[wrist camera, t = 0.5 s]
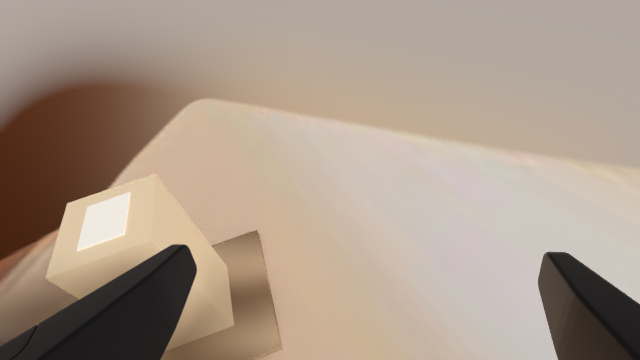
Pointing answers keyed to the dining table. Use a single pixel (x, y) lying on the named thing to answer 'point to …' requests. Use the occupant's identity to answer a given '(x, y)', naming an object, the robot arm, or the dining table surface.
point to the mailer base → (240, 309)
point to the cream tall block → (139, 251)
